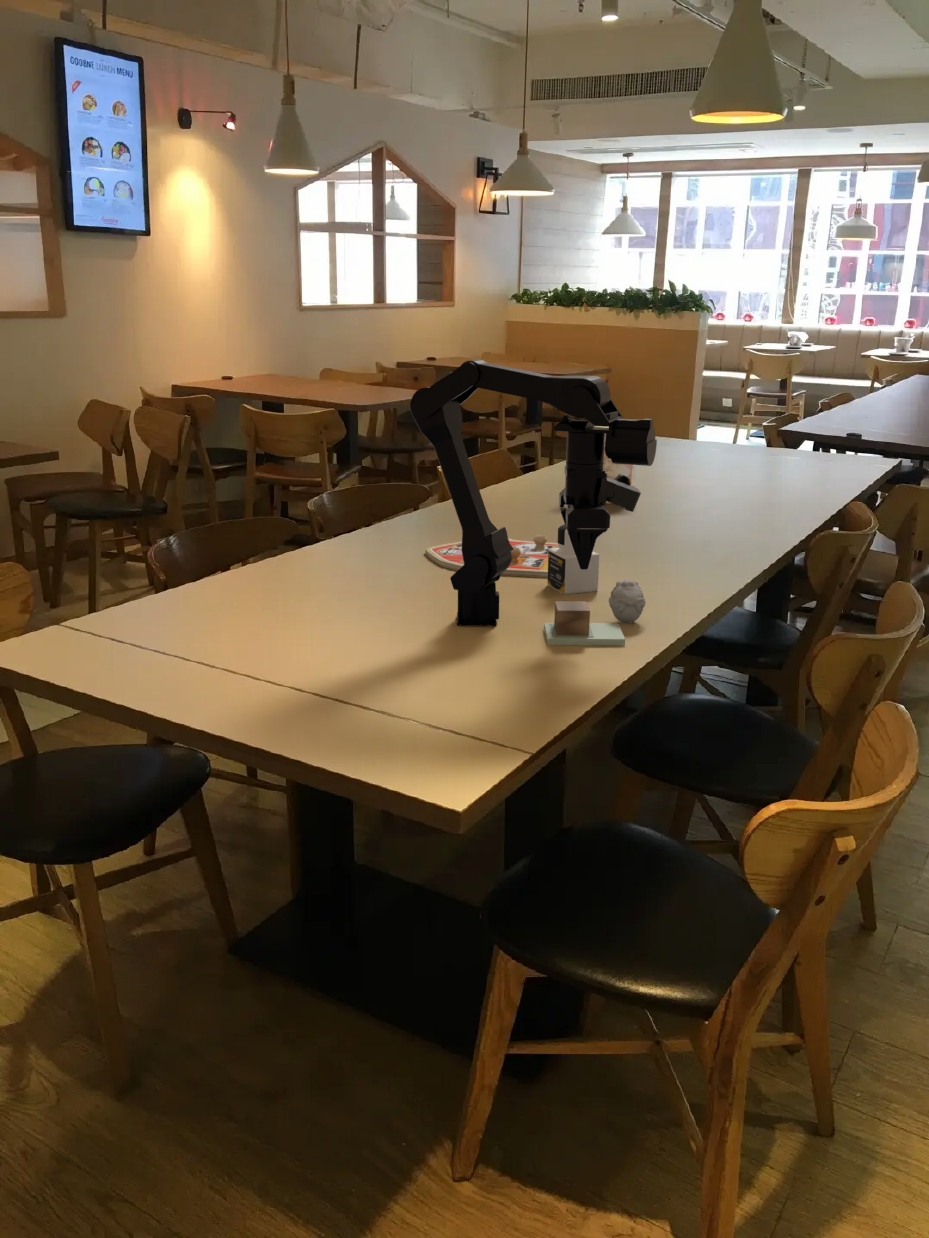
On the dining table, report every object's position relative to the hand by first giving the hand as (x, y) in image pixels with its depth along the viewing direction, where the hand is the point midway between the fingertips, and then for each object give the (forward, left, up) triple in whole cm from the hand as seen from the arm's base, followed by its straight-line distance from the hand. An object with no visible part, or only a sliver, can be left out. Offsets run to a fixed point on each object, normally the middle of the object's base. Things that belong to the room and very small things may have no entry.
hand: (581, 561), depth 154 cm
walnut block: (-1, -1, -11) cm, 11 cm away
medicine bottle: (+2, +27, -12) cm, 30 cm away
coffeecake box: (+19, +112, -12) cm, 114 cm away
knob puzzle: (-12, +50, -13) cm, 53 cm away
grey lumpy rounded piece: (+9, +7, -12) cm, 17 cm away
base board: (+1, -1, -12) cm, 12 cm away
